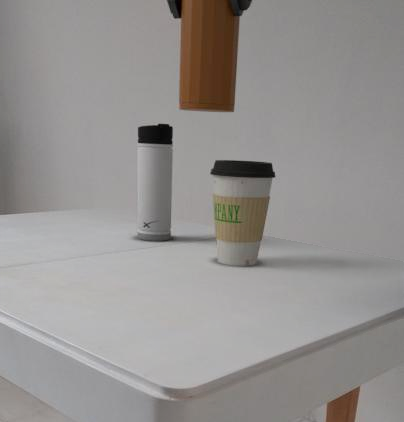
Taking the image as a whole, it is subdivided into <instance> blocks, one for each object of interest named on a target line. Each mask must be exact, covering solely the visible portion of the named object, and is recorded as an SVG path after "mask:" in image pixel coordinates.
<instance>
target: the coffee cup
mask: <svg viewBox="0 0 404 422" xmlns="http://www.w3.org/2000/svg"><path fill="white" fill-rule="evenodd" d="M273 167H274V166H273V162H268V161H267V162H266V161H255V160H254V161H253V160H234V159H231V160H230V159H229V160H228V159H215V161H214V164H213V168H211V169H210V172H209V173H210V175H212V183H213V193H212V202H213V203H212V204H213V218H214V233H215V234H214V235H215V239H216V255H217V262H218V263H220V264H223V265H227V266H236V267H247V266H253V265H257V262H258V258H259V252H260V247H261V242H262V241H263V236H264V231H265V225H266V221H267V216H268V211H269V205H270V201H271V200H270V199H271V196H270V194H271V189H272V183H273V179H274V178H275V179H276V172H275V171H274V168H273Z"/></svg>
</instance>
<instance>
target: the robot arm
mask: <svg viewBox="0 0 404 422" xmlns="http://www.w3.org/2000/svg"><path fill="white" fill-rule="evenodd" d="M166 2H167V5H168V9H169V11H170V14H172V17H173V19H175V20H176V19H177V20H178V19H179V20H181V3H182V0H166ZM230 2H231V7H232V11H233V15H234V16H240V17H242V16H243V14H244V12H245V11H247V10H249V9H250V7H251V4H252V2H253V0H230Z"/></svg>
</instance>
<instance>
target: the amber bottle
mask: <svg viewBox="0 0 404 422" xmlns="http://www.w3.org/2000/svg"><path fill="white" fill-rule="evenodd" d="M240 18H241V16H234V15H233V11H232V7H231V2H230V0H182V3H181V18H180V48H179V49H180V50H179V85H178V86H179V87H178V88H179V89H178V90H179V93H178V103H179V106H178V107H179V110H180V111H188V112H189V111H190V112H205V113H234V112H235V105H236V90H237V89H236V87H237V68H238V53H239V34H240V20H241V19H240Z"/></svg>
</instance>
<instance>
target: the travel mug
mask: <svg viewBox="0 0 404 422" xmlns="http://www.w3.org/2000/svg"><path fill="white" fill-rule="evenodd" d="M173 134H174V127H173V126H172V125H170V124H169V123H158V124H154V125H153V124H151V125H150V124H149V125H141V126H138V127H137V138H138V139H137V238H138V239H139V240H143V241H150V242H164V241H169V240H170V239H171V237H172V231H171V229H172V199H173V198H172V197H173V196H172V195H173V152H174V150H173V147H174V144H173V142H174V141H173V137H174V135H173Z"/></svg>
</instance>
